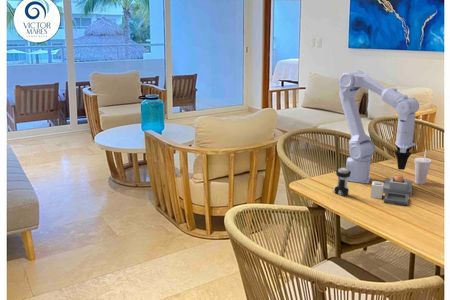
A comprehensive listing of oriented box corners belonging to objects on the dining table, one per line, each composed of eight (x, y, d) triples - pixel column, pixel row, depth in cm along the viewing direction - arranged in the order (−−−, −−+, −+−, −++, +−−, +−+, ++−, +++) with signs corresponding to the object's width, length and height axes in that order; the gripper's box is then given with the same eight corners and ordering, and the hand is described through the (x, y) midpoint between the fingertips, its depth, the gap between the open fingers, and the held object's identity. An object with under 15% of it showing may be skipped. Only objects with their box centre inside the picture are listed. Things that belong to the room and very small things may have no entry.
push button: (328, 193, 178) (330, 168, 175) (335, 189, 182) (337, 165, 179) (344, 198, 174) (347, 172, 171) (351, 194, 178) (353, 169, 175)
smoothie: (430, 186, 187) (434, 152, 183) (412, 184, 188) (417, 151, 184) (426, 180, 193) (431, 147, 189) (410, 179, 194) (414, 146, 190)
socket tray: (383, 202, 170) (384, 199, 170) (385, 195, 177) (385, 191, 177) (407, 206, 168) (407, 202, 167) (408, 198, 175) (408, 194, 174)
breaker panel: (382, 192, 180) (384, 181, 178) (385, 182, 190) (386, 172, 189) (411, 196, 176) (412, 185, 175) (411, 186, 187) (413, 175, 185)
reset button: (394, 183, 179) (394, 177, 178) (394, 181, 182) (395, 174, 181) (402, 184, 178) (403, 178, 177) (402, 182, 181) (403, 175, 180)
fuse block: (370, 197, 175) (371, 183, 174) (371, 193, 179) (372, 180, 177) (381, 199, 174) (383, 185, 172) (382, 195, 177) (384, 181, 176)
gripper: (416, 136, 166) (412, 173, 170) (417, 127, 179) (413, 162, 183) (395, 134, 169) (392, 171, 172) (397, 126, 182) (394, 160, 185)
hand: (401, 166), depth 178 cm, fingers open, 7 cm apart
